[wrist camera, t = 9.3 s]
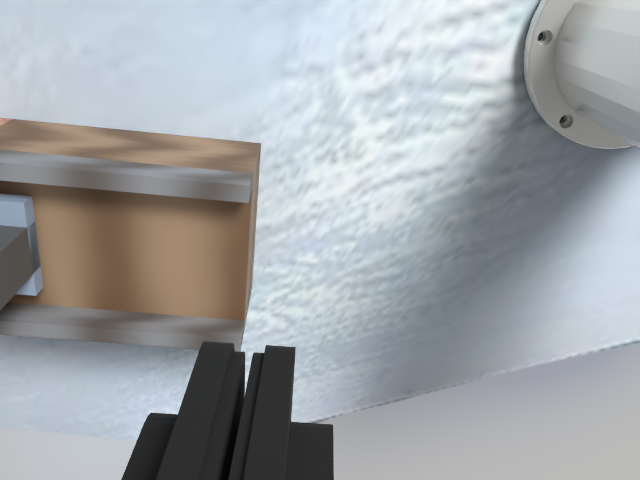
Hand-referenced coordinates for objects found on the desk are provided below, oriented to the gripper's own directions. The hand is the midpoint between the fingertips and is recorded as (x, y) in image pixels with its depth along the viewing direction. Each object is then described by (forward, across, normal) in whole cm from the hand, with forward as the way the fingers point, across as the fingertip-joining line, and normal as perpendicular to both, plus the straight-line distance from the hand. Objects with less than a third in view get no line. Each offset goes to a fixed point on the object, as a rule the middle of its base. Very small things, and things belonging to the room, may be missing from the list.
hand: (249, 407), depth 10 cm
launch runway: (+28, +11, +9) cm, 31 cm away
